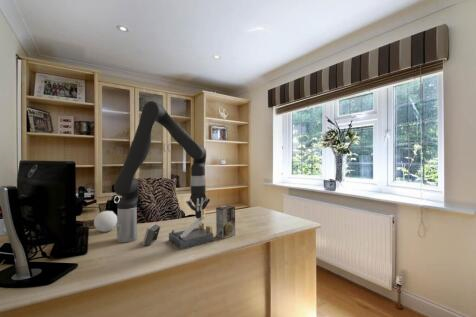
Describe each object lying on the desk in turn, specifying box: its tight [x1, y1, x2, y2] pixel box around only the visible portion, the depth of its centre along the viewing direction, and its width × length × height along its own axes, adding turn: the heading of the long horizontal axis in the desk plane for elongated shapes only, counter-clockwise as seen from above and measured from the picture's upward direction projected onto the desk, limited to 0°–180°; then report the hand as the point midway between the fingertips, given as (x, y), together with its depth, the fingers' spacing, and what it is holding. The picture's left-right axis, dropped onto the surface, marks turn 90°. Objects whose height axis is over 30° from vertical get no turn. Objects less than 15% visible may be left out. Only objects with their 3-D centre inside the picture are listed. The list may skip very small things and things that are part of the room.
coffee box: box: [215, 204, 236, 240], centre depth 128 cm, size 9×6×16 cm
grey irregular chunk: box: [142, 222, 161, 246], centre depth 118 cm, size 9×5×9 cm, turn 176°
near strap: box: [180, 215, 205, 239], centre depth 116 cm, size 15×3×1 cm
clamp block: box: [168, 221, 214, 251], centre depth 120 cm, size 18×15×7 cm
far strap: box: [173, 225, 201, 234], centre depth 124 cm, size 15×3×1 cm, turn 127°
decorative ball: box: [93, 210, 118, 233], centre depth 136 cm, size 12×12×12 cm
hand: (198, 218), depth 118 cm, fingers closed
